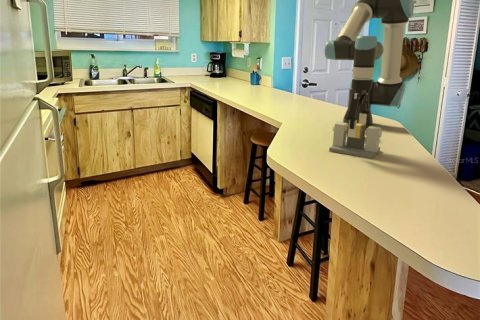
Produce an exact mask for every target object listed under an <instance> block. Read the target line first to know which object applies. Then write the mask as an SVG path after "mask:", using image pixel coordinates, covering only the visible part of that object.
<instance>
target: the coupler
mask: <svg viewBox="0 0 480 320" xmlns="http://www.w3.org/2000/svg"><path fill="white" fill-rule="evenodd" d="M348 129H349V124H347V134H346V138H347V137H348ZM365 129H366V124H359V123H357V126H356V136H355V137H353V138H360V139H362V138H363V137H365V138H366V135H365V132H366V131H365Z"/></svg>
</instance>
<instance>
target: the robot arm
mask: <svg viewBox="0 0 480 320" xmlns="http://www.w3.org/2000/svg"><path fill="white" fill-rule="evenodd" d="M414 10H415V1H414V0H357V1H356V3H355V4H354V5H353V7H352V8H351V10H350V11H351V12H350V16H349V17H348V19H347V21H346V23H345V24H344V26H343V27H342V29H341V31H340V32H339V34H338V36H337V37H336V38H335V40H334V39H332V40H328V41H327V42H326V43H325V44H324V56H325V58H326V59H328V60H334V61H353V63H352V65H353V67H352V69H351V72H352V76H351V77H352V79H351V81H350V85H349V89H348V90H349V91H348V101H347V103H348V104H347V110H346V111H345V114H344V116H343V120H342V123H348V124H349V129H348V137H355V136H356V126H357V123H359V124H366V126H368V127H369V126H373V122H374V121H373V120H374V119H373V115H372V112H371V111H372V110H371V109H372V106H381V107H382V106H383V107H388V108H389V107H395V108H397V107H399V106H400V105H401V103H402V100H403V96H404V94H405V90H406V83H404V82H403V78H402V77H401V76H400V75H401V74H400V73H401V65H402V63H401V62H402V54H403V42H404V35H405V33H404V32H405V26H406V25H407V24H408V23H409V21H410V19H411V18H412V17H413V16H414ZM372 19H381V21H380V23H381V24H382V25H383V27H384V29H383V39H382V40H383V42H382V43H381V41H378V36H377V35H360V34H361V32H362V30H363V28H364V27H365V25H366V23H368V22H369V21H371V20H372ZM380 58H381V68H380V76H379V77H378V78H377V80H376V81H375V79H374V74H375V73H374V71H375V62H376V61H377V60H378V59H380ZM348 124H347V125H348Z"/></svg>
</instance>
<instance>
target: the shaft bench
mask: <svg viewBox="0 0 480 320" xmlns="http://www.w3.org/2000/svg"><path fill="white" fill-rule="evenodd" d="M347 126H348V123H343V122H340V121H337V122H336V123H334V124H333V126H332V131H333V138H332V145H331V146H330V147H329V150H328V151H329V152H331V153H338V154H342V155H343V154H344V155H349V156H355V157H361V158H368V159H372V158H375V157H376V155H378V154H379V153H380V152H381V146H380V138H382V135H383V129H382V128H381V126H373V125H369V126H368V128H367V129H366V131H365V137H363V138H362V139H360V138H353V137H347ZM365 140H366V141H365ZM379 146H380V147H379Z"/></svg>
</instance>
